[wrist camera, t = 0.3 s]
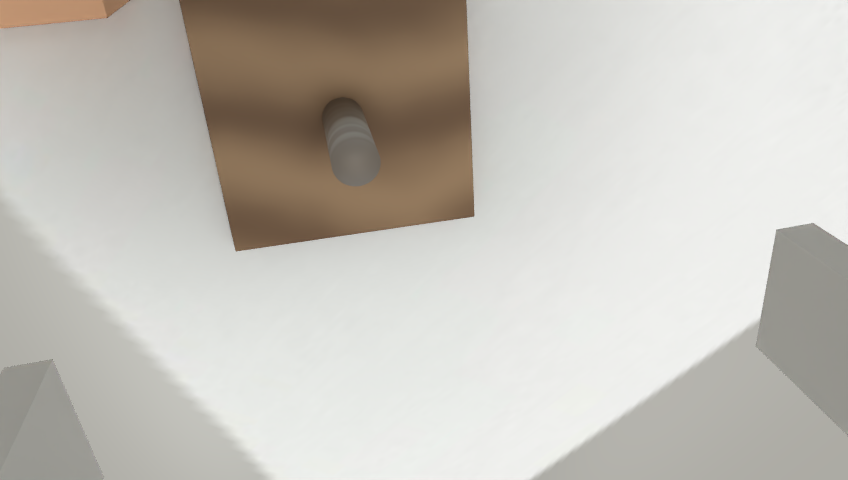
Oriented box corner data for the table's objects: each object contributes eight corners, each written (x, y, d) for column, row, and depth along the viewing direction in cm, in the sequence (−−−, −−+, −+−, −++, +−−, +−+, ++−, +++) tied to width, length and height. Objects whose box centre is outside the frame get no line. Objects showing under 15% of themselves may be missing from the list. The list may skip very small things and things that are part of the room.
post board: (180, -11, 34) (154, 17, 26) (459, -37, 35) (505, -18, 28) (236, 241, 40) (227, 318, 33) (469, 208, 42) (508, 274, 35)
